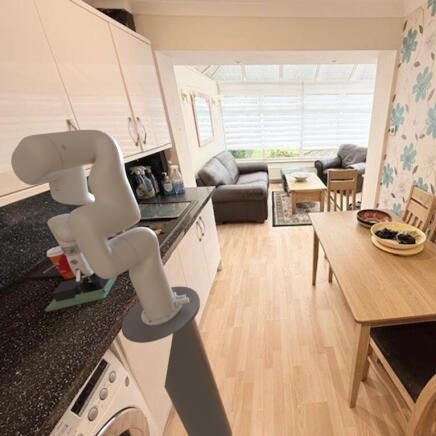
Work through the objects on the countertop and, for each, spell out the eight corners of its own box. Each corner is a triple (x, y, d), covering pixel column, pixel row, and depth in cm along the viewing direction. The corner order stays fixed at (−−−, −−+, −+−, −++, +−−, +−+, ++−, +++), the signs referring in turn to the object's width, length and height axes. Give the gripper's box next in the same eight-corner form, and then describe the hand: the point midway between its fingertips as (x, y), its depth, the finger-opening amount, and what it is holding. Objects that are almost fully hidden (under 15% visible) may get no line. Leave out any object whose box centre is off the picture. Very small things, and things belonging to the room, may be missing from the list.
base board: (117, 276, 104) (112, 267, 102) (105, 298, 92) (100, 288, 90) (65, 287, 99) (60, 277, 97) (46, 312, 87) (39, 301, 85)
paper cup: (61, 275, 107) (45, 249, 101) (82, 267, 112) (68, 242, 106) (61, 283, 102) (44, 256, 96) (83, 275, 106) (69, 248, 100)
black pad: (108, 279, 100) (104, 271, 98) (102, 289, 94) (98, 281, 92) (90, 282, 98) (86, 275, 96) (83, 293, 92) (78, 285, 91)
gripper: (76, 256, 81) (98, 296, 89) (97, 234, 96) (114, 269, 104) (50, 261, 79) (74, 301, 87) (75, 237, 95) (94, 273, 102)
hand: (95, 284), depth 96 cm, fingers closed on black pad, 6 cm apart
